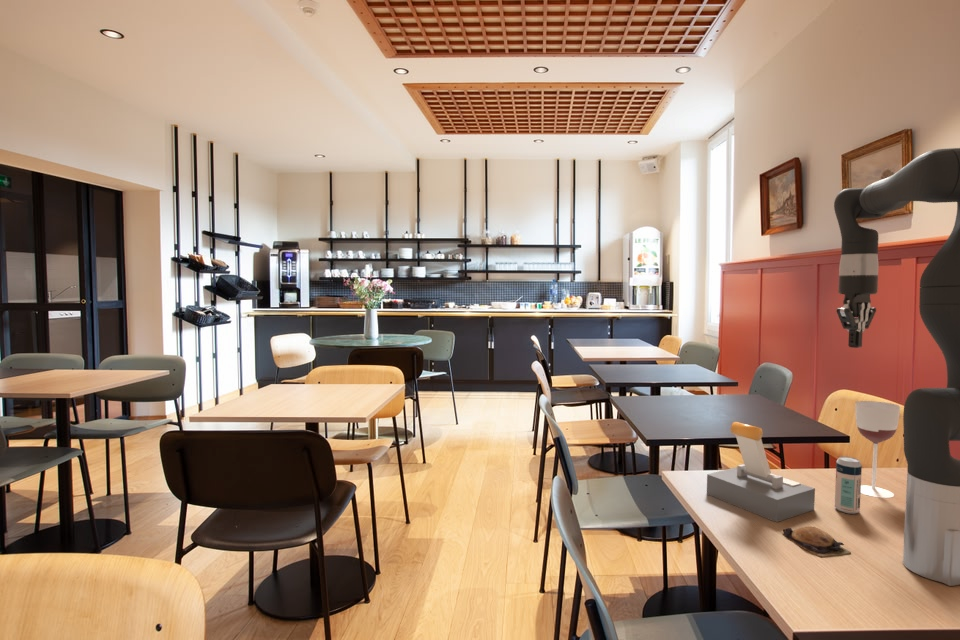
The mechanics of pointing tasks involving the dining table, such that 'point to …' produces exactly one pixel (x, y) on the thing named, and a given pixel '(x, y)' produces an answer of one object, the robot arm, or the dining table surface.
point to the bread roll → (815, 541)
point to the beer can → (848, 485)
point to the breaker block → (761, 493)
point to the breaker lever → (752, 451)
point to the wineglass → (876, 434)
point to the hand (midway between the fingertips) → (855, 347)
